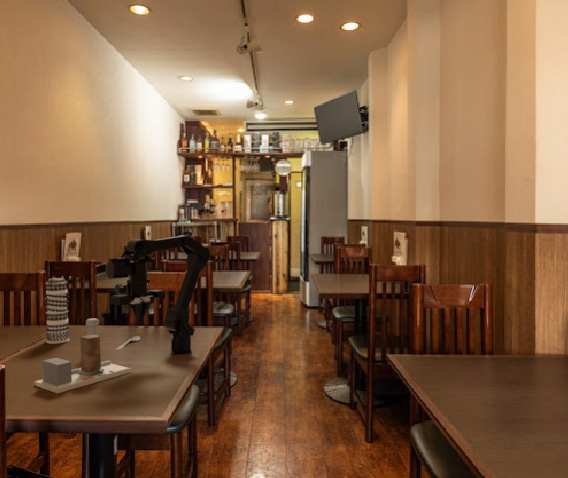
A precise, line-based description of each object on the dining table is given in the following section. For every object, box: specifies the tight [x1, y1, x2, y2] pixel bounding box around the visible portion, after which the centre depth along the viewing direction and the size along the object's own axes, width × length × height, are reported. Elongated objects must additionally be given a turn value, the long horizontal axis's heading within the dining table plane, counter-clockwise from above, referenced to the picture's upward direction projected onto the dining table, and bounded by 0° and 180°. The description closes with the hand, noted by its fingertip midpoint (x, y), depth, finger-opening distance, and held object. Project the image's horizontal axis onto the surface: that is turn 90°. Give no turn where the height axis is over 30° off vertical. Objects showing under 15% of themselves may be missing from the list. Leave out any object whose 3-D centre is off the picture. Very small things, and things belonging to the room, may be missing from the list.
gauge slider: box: [77, 335, 104, 376], centre depth 152 cm, size 5×9×11 cm, turn 53°
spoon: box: [116, 335, 141, 350], centre depth 194 cm, size 4×21×2 cm, turn 171°
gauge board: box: [34, 357, 131, 394], centre depth 152 cm, size 24×12×7 cm, turn 143°
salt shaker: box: [85, 317, 102, 352], centre depth 178 cm, size 6×6×13 cm
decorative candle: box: [44, 277, 70, 345], centre depth 201 cm, size 9×9×25 cm
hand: (139, 322), depth 170 cm, fingers closed
